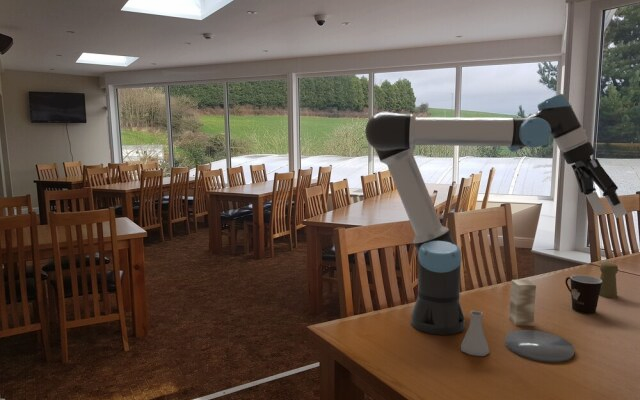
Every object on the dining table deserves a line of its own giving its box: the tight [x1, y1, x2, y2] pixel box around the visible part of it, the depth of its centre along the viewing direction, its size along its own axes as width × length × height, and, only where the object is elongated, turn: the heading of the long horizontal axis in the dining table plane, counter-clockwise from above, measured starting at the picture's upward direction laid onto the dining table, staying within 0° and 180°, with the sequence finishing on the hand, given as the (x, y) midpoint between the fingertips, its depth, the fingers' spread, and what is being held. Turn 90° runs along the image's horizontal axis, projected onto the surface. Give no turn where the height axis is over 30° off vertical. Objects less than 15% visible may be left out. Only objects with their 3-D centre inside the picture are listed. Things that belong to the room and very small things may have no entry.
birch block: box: [509, 279, 537, 326], centre depth 135 cm, size 5×5×12 cm
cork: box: [599, 262, 619, 299], centre depth 158 cm, size 6×6×11 cm
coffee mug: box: [565, 274, 602, 315], centre depth 146 cm, size 12×9×10 cm
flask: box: [460, 310, 490, 357], centre depth 118 cm, size 7×7×10 cm
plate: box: [504, 329, 575, 363], centre depth 120 cm, size 16×16×1 cm
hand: (611, 214), depth 129 cm, fingers open, 13 cm apart
